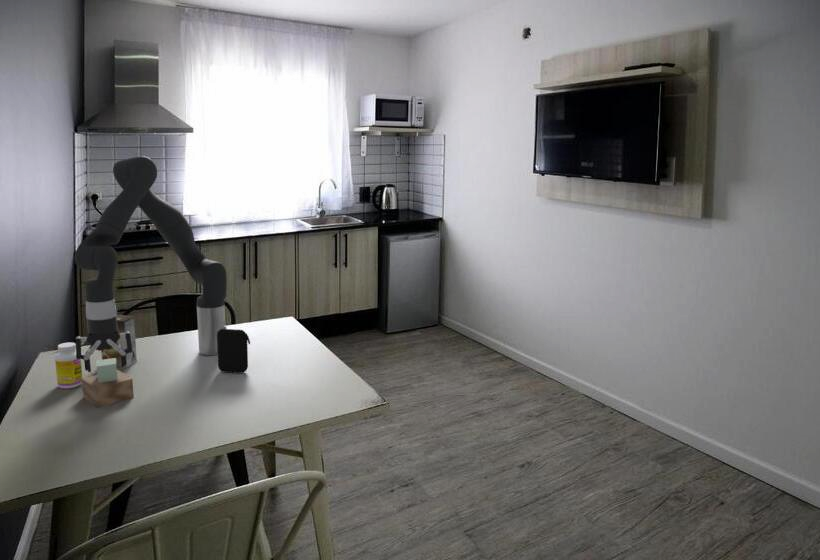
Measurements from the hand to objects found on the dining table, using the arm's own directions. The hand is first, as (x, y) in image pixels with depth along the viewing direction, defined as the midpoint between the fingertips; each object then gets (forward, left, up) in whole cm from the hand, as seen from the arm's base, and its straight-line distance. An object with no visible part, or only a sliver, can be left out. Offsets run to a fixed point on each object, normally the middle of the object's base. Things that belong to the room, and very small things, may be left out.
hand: (106, 369), depth 169 cm
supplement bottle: (+10, -14, -9) cm, 19 cm away
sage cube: (0, 0, -3) cm, 3 cm away
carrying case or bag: (-37, -5, -9) cm, 38 cm away
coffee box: (-4, -28, -9) cm, 30 cm away
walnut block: (0, 0, -9) cm, 9 cm away
